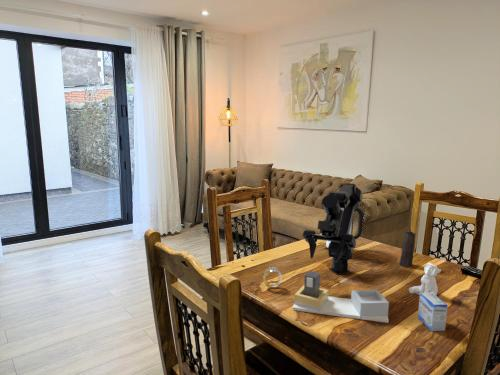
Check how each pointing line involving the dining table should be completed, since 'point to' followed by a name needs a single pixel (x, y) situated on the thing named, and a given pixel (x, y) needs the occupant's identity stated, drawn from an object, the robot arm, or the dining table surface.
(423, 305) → the medicine box
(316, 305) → the low dock
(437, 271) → the white creature statuette
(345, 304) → the panel board
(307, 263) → the dining table surface
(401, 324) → the dining table surface
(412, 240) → the butter churn
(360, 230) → the coffee press
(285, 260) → the dining table surface
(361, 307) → the raised dock
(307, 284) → the plug
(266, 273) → the ring
